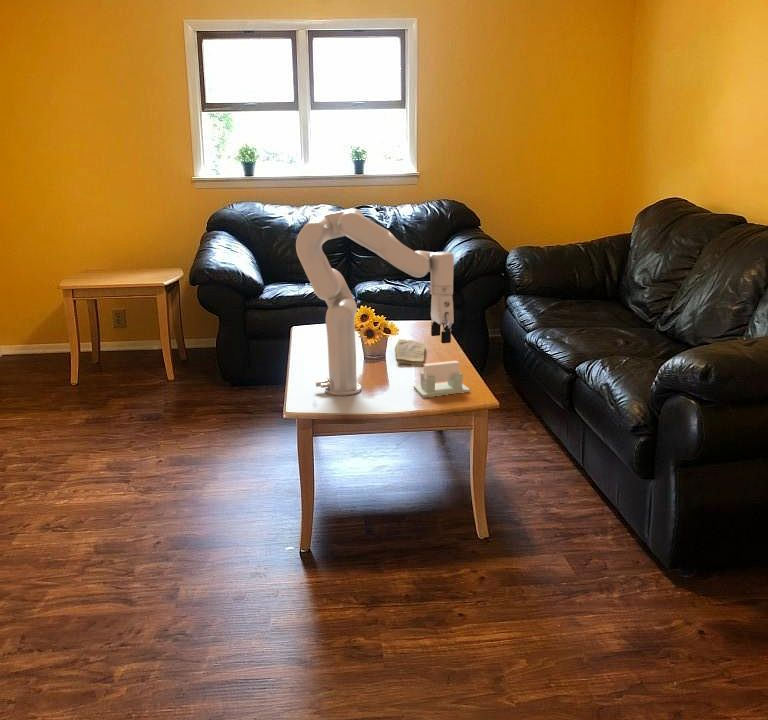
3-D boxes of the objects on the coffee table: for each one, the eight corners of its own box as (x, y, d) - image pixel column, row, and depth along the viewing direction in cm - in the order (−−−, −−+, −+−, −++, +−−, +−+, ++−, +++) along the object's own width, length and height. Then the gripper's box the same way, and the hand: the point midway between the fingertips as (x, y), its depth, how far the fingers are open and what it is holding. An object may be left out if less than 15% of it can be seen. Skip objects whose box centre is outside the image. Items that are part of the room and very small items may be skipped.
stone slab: (424, 338, 319) (426, 356, 290) (424, 348, 320) (426, 366, 291) (395, 338, 319) (393, 356, 290) (395, 347, 320) (393, 366, 291)
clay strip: (456, 376, 264) (456, 360, 262) (458, 379, 262) (459, 362, 260) (423, 380, 261) (423, 363, 259) (426, 382, 258) (426, 365, 257)
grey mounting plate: (422, 398, 255) (422, 380, 254) (413, 389, 265) (413, 371, 263) (469, 392, 260) (470, 374, 258) (458, 383, 269) (459, 366, 267)
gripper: (462, 293, 245) (460, 344, 250) (443, 284, 261) (442, 332, 266) (440, 295, 243) (439, 346, 248) (422, 285, 259) (421, 333, 264)
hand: (440, 339), depth 257 cm, fingers open, 9 cm apart
